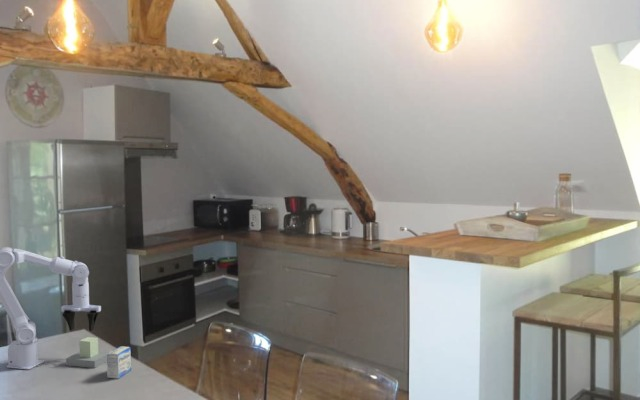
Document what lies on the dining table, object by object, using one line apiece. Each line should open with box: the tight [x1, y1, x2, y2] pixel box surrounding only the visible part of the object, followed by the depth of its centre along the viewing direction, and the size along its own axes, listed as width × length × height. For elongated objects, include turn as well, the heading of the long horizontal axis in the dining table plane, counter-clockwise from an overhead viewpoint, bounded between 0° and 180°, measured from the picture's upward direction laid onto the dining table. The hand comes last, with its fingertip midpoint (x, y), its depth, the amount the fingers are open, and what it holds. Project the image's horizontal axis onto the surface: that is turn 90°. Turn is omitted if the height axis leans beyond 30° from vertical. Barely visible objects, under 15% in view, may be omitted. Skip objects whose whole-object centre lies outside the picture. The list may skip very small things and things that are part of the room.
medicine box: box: [106, 345, 132, 380], centre depth 182 cm, size 8×4×9 cm, turn 168°
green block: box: [79, 336, 99, 358], centre depth 194 cm, size 4×4×6 cm
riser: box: [65, 350, 111, 369], centre depth 194 cm, size 12×10×2 cm
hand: (81, 329), depth 199 cm, fingers open, 7 cm apart
